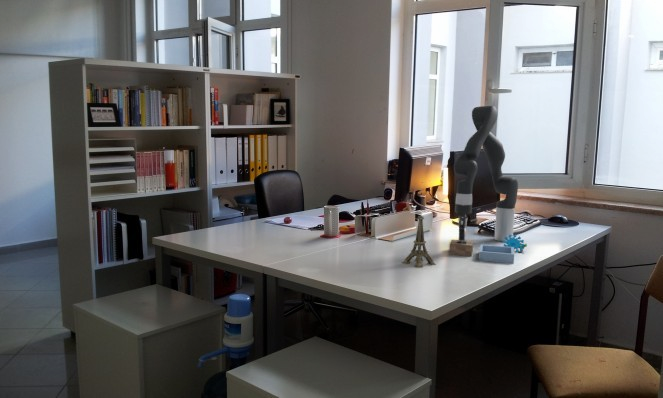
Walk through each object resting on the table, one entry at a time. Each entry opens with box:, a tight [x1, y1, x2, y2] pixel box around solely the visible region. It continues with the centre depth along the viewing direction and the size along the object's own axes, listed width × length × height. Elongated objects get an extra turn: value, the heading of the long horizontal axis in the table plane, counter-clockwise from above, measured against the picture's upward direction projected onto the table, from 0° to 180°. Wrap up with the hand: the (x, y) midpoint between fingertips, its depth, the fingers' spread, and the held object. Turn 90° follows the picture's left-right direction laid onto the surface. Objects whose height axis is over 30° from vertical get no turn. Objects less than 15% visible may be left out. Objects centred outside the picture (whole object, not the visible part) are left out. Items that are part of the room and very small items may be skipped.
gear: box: [502, 233, 528, 253], centre depth 276 cm, size 11×6×10 cm
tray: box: [478, 244, 515, 264], centre depth 260 cm, size 15×15×4 cm
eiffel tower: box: [401, 214, 437, 269], centre depth 246 cm, size 11×11×25 cm
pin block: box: [448, 239, 474, 257], centre depth 269 cm, size 10×10×5 cm
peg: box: [458, 227, 467, 244], centre depth 268 cm, size 3×3×12 cm
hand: (461, 239), depth 268 cm, fingers closed on peg, 3 cm apart
